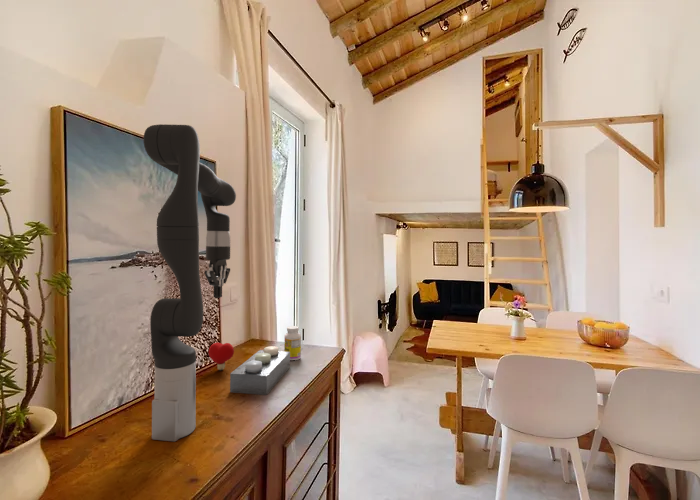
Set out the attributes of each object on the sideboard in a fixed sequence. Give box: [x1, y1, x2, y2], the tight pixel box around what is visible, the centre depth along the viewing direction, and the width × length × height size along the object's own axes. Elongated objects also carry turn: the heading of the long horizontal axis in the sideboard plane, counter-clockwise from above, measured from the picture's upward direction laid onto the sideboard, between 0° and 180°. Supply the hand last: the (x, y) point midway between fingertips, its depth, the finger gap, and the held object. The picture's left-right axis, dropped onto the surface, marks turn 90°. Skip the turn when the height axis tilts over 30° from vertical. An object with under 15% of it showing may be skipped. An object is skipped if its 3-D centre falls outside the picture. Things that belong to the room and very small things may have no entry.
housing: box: [229, 349, 291, 396], centre depth 120 cm, size 24×12×6 cm, turn 173°
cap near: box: [245, 361, 262, 373], centre depth 112 cm, size 5×5×5 cm
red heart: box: [208, 342, 235, 371], centre depth 128 cm, size 9×7×10 cm
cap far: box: [263, 345, 279, 357], centre depth 128 cm, size 5×5×5 cm
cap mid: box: [255, 353, 271, 364], centre depth 120 cm, size 5×5×5 cm
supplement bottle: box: [284, 325, 302, 361], centre depth 142 cm, size 7×7×13 cm
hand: (217, 297), depth 114 cm, fingers closed
